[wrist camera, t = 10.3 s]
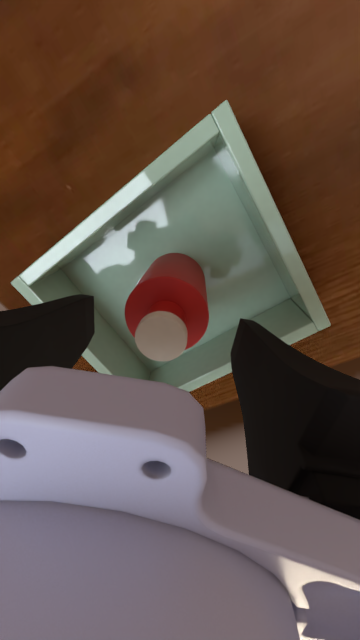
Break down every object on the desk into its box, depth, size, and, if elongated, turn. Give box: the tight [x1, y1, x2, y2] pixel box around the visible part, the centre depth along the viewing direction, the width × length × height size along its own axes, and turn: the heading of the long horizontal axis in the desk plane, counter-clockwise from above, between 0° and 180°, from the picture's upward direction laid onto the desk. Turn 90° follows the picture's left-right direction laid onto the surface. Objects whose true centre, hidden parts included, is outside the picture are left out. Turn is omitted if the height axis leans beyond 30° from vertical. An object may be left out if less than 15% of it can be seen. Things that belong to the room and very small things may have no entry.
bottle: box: [125, 253, 209, 361], centre depth 14 cm, size 4×4×8 cm
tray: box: [11, 100, 331, 392], centre depth 16 cm, size 15×13×4 cm
